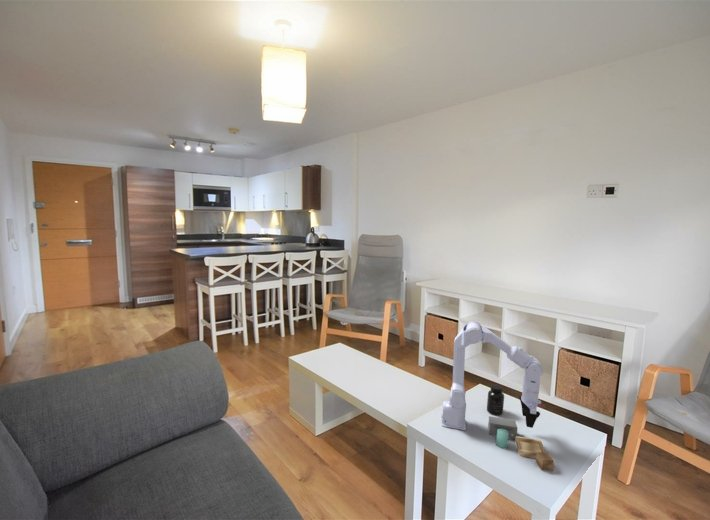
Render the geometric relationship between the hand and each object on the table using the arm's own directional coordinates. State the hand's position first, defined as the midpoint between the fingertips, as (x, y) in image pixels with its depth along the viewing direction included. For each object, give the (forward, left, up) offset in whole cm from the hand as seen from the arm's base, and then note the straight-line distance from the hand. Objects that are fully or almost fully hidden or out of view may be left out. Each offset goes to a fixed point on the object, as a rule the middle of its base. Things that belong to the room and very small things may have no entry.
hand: (527, 421), depth 140 cm
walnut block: (+3, -16, -7) cm, 18 cm away
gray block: (-9, 0, -7) cm, 11 cm away
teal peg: (-10, -8, -7) cm, 15 cm away
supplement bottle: (-10, +16, -7) cm, 20 cm away
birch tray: (0, -8, -7) cm, 11 cm away
